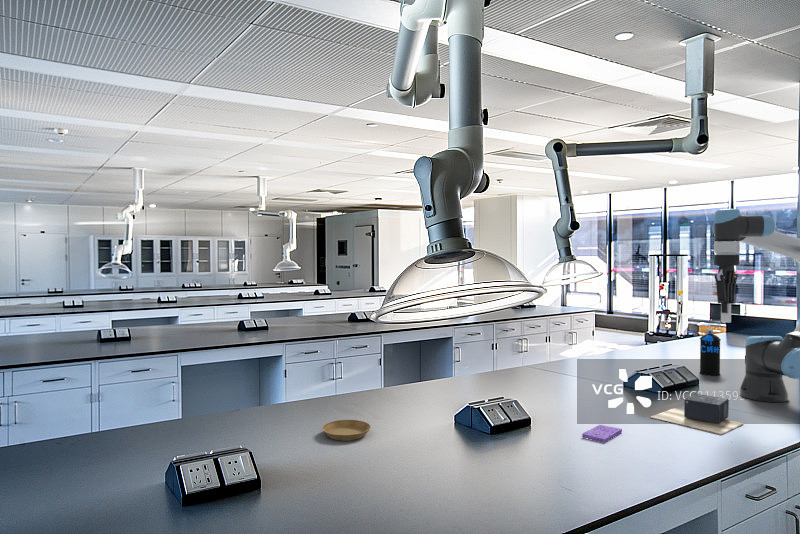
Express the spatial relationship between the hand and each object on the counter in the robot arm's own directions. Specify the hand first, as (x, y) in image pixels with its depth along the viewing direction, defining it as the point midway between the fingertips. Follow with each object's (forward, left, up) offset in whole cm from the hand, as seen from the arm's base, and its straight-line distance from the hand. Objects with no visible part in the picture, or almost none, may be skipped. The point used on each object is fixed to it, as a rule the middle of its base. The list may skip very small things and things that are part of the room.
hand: (725, 322), depth 192 cm
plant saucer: (+117, -60, -31) cm, 135 cm away
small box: (+12, 0, -27) cm, 29 cm away
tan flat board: (+22, 0, -30) cm, 37 cm away
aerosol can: (-53, -28, -31) cm, 67 cm away
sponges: (+57, -11, -31) cm, 66 cm away
